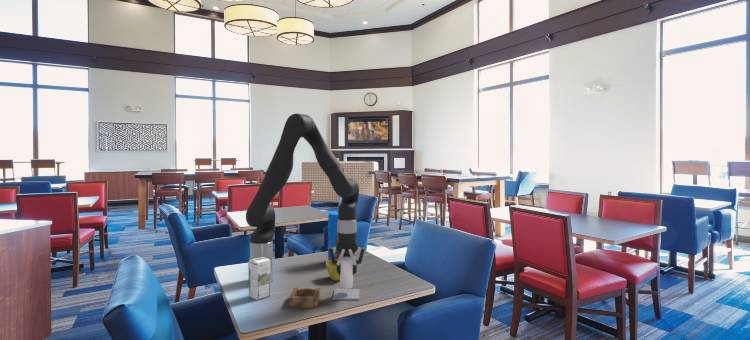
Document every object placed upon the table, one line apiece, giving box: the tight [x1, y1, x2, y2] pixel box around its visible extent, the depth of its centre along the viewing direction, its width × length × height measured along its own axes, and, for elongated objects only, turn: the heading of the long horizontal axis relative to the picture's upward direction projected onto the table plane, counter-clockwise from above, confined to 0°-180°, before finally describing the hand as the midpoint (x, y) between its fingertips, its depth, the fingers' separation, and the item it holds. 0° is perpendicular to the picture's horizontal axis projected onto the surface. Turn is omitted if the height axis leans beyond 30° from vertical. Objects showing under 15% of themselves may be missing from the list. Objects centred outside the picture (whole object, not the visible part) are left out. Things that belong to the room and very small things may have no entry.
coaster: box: [332, 288, 361, 301], centre depth 147 cm, size 10×10×1 cm
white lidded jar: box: [339, 257, 354, 289], centre depth 146 cm, size 5×5×12 cm
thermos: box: [327, 211, 340, 261], centre depth 189 cm, size 11×11×25 cm
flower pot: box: [325, 259, 340, 281], centre depth 166 cm, size 10×10×7 cm
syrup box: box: [248, 257, 271, 301], centre depth 144 cm, size 6×6×14 cm
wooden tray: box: [288, 287, 321, 309], centre depth 139 cm, size 10×10×4 cm
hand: (346, 273), depth 146 cm, fingers closed on white lidded jar, 5 cm apart
